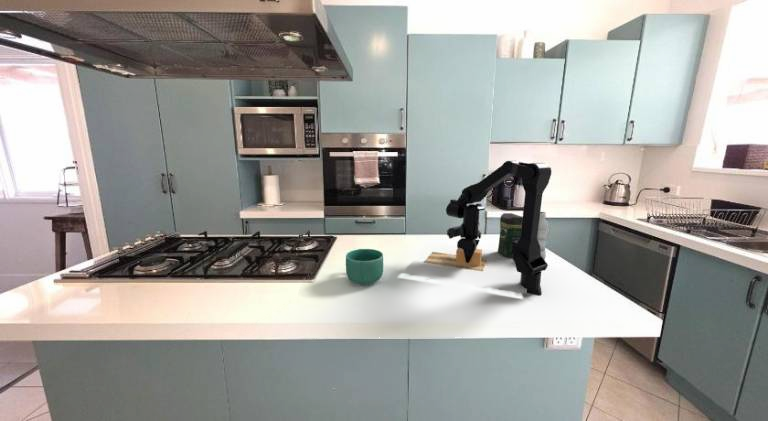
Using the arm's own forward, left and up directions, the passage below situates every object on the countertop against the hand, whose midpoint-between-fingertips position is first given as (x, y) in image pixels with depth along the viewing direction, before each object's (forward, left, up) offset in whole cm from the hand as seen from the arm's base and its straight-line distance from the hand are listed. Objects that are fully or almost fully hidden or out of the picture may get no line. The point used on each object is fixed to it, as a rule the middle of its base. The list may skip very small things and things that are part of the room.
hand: (468, 260), depth 117 cm
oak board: (0, +5, -2) cm, 6 cm away
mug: (-27, +31, -3) cm, 41 cm away
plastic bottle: (+17, -24, -2) cm, 30 cm away
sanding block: (0, 0, -1) cm, 1 cm away
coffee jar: (+17, -14, -2) cm, 22 cm away
